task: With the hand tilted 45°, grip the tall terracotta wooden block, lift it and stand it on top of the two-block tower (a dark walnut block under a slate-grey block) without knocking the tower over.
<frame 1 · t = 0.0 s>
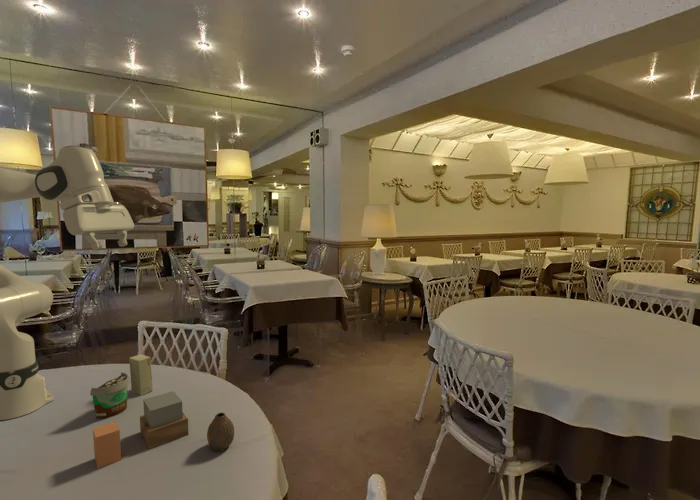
hand: (111, 247, 108), 52 cm above the table, tool tilted 20°, fingers open, 8 cm apart
tower top block: (163, 417, 107), point 5 cm above the table, touching tower base block
skincare box: (141, 391, 132), on the table
vase: (221, 446, 101), on the table
tower base block: (164, 434, 107), on the table, touching tower top block
food container: (117, 412, 119), on the table
terracotta block: (108, 459, 96), on the table
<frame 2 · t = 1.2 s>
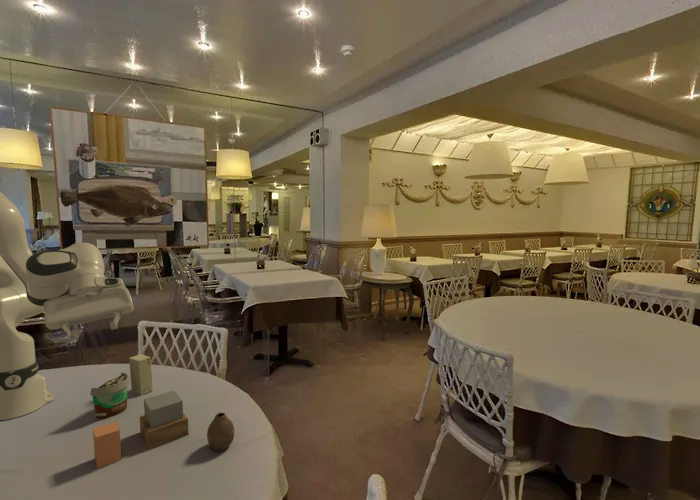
hand: (93, 333, 101), 30 cm above the table, tool tilted 45°, fingers open, 8 cm apart
tower top block: (163, 417, 107), point 5 cm above the table
tower base block: (164, 434, 107), on the table
everything else where it was.
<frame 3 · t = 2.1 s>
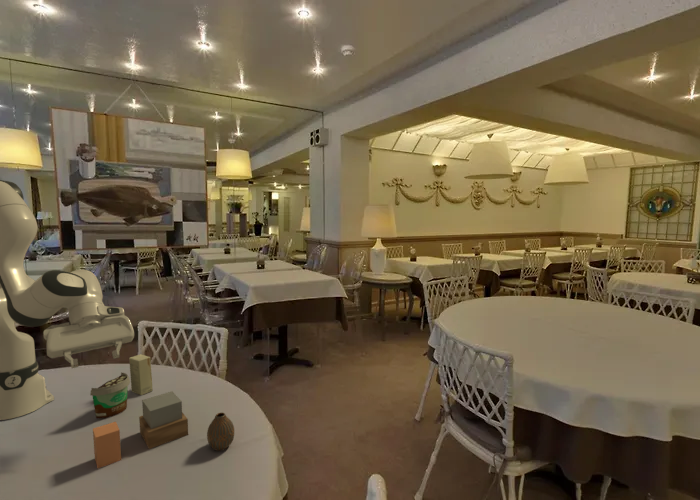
hand: (96, 361, 103), 22 cm above the table, tool tilted 45°, fingers open, 8 cm apart
nothing on the table moved.
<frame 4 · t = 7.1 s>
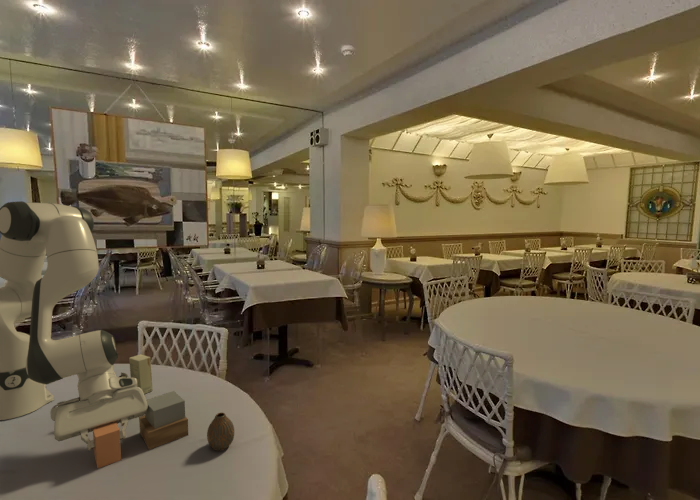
hand: (107, 443, 95), 4 cm above the table, tool tilted 45°, fingers closed on terracotta block, 5 cm apart
tower top block: (165, 417, 107), point 5 cm above the table, touching tower base block
tower base block: (164, 435, 107), on the table, touching tower top block
terracotta block: (107, 459, 96), on the table, touching gripper
everything else where it was.
when the fingers open (16 cm above the table, at t = 14.9 s): terracotta block drops 2 cm, resting on tower top block.
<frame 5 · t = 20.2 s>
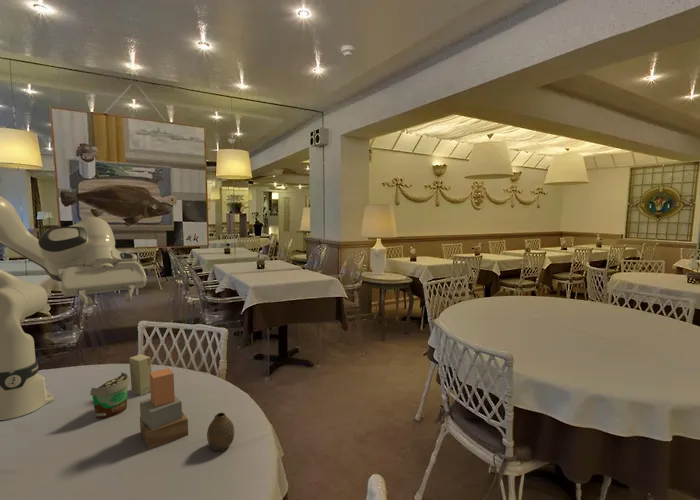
hand: (109, 302, 104), 37 cm above the table, tool tilted 45°, fingers open, 8 cm apart
tower top block: (161, 418, 106), point 5 cm above the table, touching terracotta block, tower base block
terracotta block: (162, 400, 106), point 10 cm above the table, touching tower top block
everything else where it was.
at the end: terracotta block 0.1 cm off-centre on the tower base block, point 10.0 cm above the tower base block's base; terracotta block tilted 0°; tower top block 0.6 cm off-centre on the tower base block, point 5.0 cm above the tower base block's base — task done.
